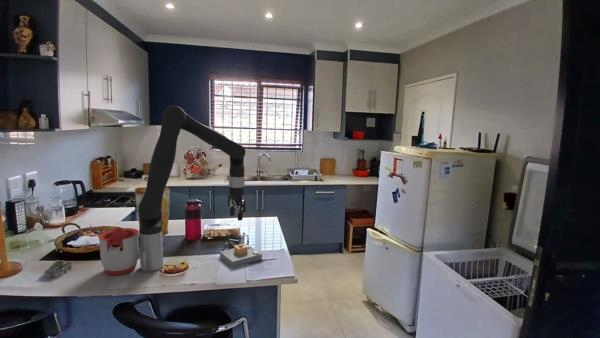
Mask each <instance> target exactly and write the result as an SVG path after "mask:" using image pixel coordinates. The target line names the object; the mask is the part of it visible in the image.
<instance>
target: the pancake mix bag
mask: <svg viewBox="0 0 600 338" xmlns="http://www.w3.org/2000/svg"><path fill="white" fill-rule="evenodd" d="M146 187H147V186H143V187H142V186H141V187H135V188H134V195H135V203H136V205H135V206H136V210H137V219H138V225H139V226H138V228H139V229H138V231H139V233H138V235H140V214H139V211H138V207H139V203H140V201H141V200H142V198H143V196H144V193H145V190H146ZM170 206H171V188H168V186H166V187H165V189H164V193H163V198H162V205H161V207H162V235H165V234H169V229H168V226H169V217H170Z"/></svg>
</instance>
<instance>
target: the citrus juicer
mask: <svg viewBox="0 0 600 338" xmlns="http://www.w3.org/2000/svg"><path fill="white" fill-rule="evenodd" d="M98 239H99V253H100V254H99V256H100V261H101V265H102V267H103V270H104V271H105V273H106V274H108V275H111V276H119V275H123V274H128V273H130V272H131V271H134V269H135V268H136V266H137V264H138V260H139V256H140V251H139V248H140V247H139V246H140V241H139V229H136V228H133V227H132V228H131V227H124V228H122V227H120V226H118V227H116V228H115V229H109V230H106V231H103V232H102V233H100V234H99V235H98Z"/></svg>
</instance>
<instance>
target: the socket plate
mask: <svg viewBox="0 0 600 338" xmlns="http://www.w3.org/2000/svg"><path fill="white" fill-rule="evenodd" d="M244 245H245V244H244ZM245 246H247V254H244V255H240V256H238V255H237V254H235V253H234V247H233V248H229V249H225V250H221V251H219V258H220V259H221V260H223V262H225V263H226V264H227V265H229V266H230V267H231V268H232V269H233V268H236V267H240V266H244V265H247V264H251V263H254V262H258V261H261V260H262V259H263V254H262V253H261V252H260V251H258V250H257V249H256V248H254V247H252V246H251V245H249V244H246V245H245ZM262 261H263V260H262Z"/></svg>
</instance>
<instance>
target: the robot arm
mask: <svg viewBox="0 0 600 338" xmlns="http://www.w3.org/2000/svg"><path fill="white" fill-rule="evenodd" d="M181 130H183V131H186V132H188V133H190V134H192V135H194V136H195V137H197V138H198V139H200V140H202V142H204V143H206V144H208V145H210V146H211V147H213V148H216V149H217V150H219V151H221V152H223V153H224V154H226V155H228V156H229V176H228V177H229V178H228V195H227V206H228V208H229V216H230V217H234V216H235V209H236V210H237V221H240V222H241V221H243V219H244V217H243V215H244V213H245V212H246V199H243V196H245V188H246V187H245V186H246V185H245V183H246V182H245V181H246V180H245V164H244V163H245V155H246V149H245V147H244V146H243V145H242V144H240V143H237V142H235V141H233V140H231V139H230V138H228V137H227V136H226V135H224V134H222V133H220V132H219V131H216V130H215V129H213V128H212V127H209V126H207V125H204V124H203V123H201V122H199V121H197V120H196V119H194V118H193V117H191V116H190V115H189V114H188V113H186V112H185V110H183V108H182V107H180V106H178V105H170V106H167V107H166V108H165V109H164V110H163V114H162V122H161V128H160V133H159V135H158V139H157V141H156V144H155V146H154V150H153V153H152V156H151V160H150V164H149V167H148V173H147V182H146V186H145V187H146V190H145V193H144V196H143V198H142V200H141V201H140V203H139V207H138V211H139V214H140V234H139V246H140V247H139V268H140V269H141V271H142V272H143V273H145V272H146V273H147V272H155V271H159V270H160V269H162V268H163V267H164V250H163V248H164V245H163V234H162V207H161V205H162V198H163V193H164V189H165V187H167V184H168V182H169V178H170V176H171V174H172V171H173V166H174V163H175V160H176V159H175V158H176V153H177V145H178V144H177V143H178V137H179V136H180V133H181ZM162 266H163V267H162ZM161 267H162V268H161Z"/></svg>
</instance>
